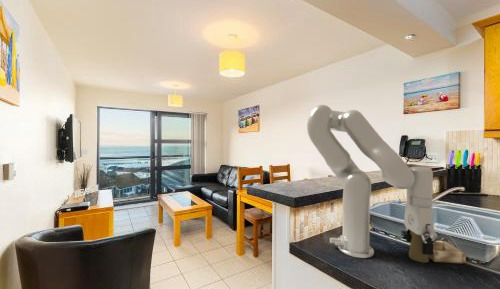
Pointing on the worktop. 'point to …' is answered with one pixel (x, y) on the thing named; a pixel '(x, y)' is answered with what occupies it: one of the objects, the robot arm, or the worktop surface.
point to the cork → (417, 248)
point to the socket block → (447, 253)
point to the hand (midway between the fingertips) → (418, 247)
